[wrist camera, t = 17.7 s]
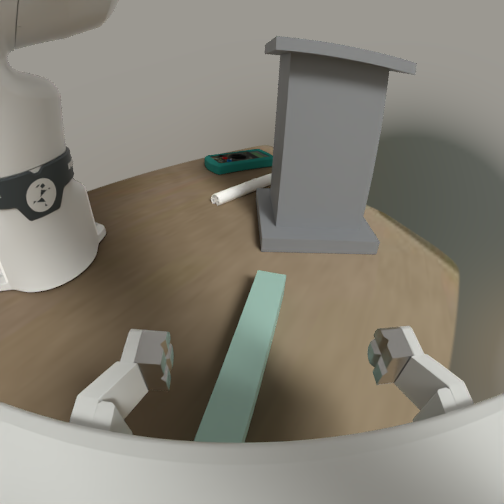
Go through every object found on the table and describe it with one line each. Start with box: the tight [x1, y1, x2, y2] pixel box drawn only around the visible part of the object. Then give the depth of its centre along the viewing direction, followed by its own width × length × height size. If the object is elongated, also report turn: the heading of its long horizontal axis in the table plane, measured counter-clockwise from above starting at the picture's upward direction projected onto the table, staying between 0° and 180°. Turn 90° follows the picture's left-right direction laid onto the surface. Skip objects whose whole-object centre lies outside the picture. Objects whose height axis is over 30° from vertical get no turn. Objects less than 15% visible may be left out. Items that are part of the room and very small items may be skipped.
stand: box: [256, 36, 416, 254], centre depth 40 cm, size 16×16×26 cm
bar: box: [194, 270, 286, 443], centre depth 24 cm, size 23×3×3 cm, turn 167°
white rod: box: [211, 173, 272, 205], centre depth 56 cm, size 18×2×2 cm, turn 138°
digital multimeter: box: [205, 149, 273, 175], centre depth 68 cm, size 7×15×3 cm, turn 121°
